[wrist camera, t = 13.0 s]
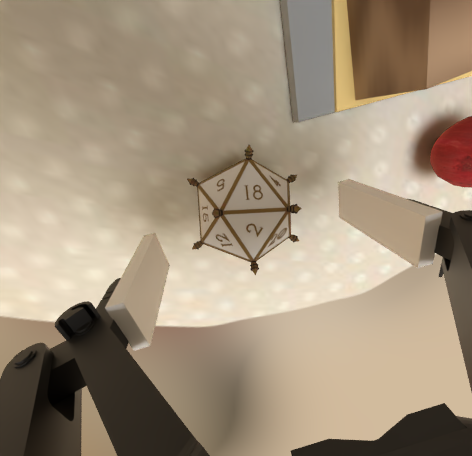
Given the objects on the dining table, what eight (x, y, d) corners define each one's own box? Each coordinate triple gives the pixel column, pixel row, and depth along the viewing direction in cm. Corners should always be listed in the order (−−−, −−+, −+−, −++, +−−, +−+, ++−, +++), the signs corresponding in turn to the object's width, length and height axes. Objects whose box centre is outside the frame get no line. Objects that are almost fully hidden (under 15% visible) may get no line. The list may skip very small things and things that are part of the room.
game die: (243, 170, 23) (336, 146, 16) (247, 250, 24) (338, 264, 16) (159, 162, 18) (240, 117, 10) (168, 266, 18) (249, 300, 11)
